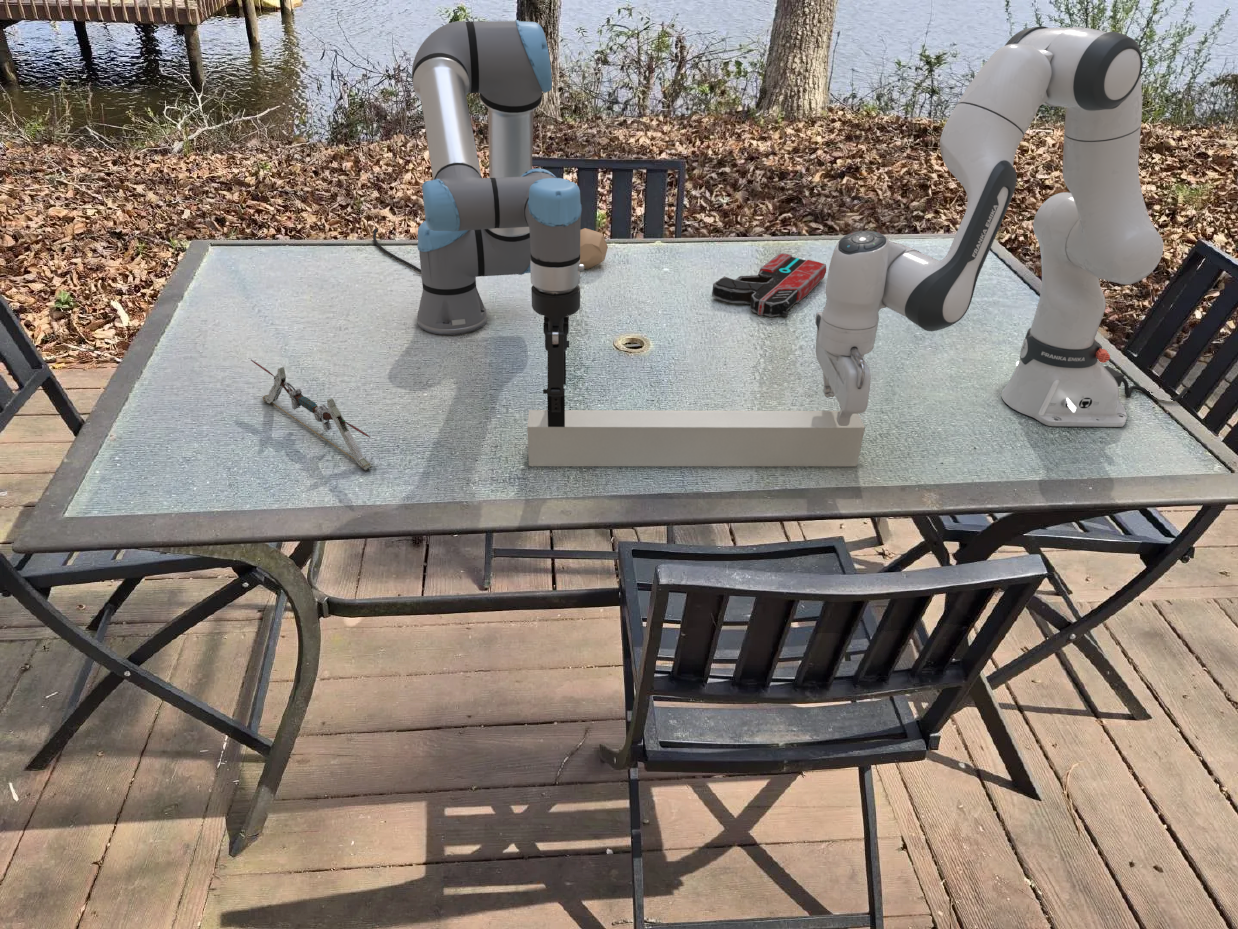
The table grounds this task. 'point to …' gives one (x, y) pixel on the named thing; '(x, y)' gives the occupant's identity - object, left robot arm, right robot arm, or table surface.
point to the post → (694, 438)
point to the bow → (316, 413)
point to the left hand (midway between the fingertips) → (557, 404)
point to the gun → (772, 285)
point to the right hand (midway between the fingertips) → (835, 409)
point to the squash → (592, 248)
